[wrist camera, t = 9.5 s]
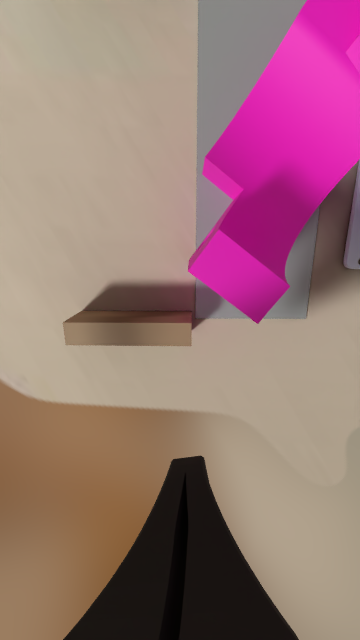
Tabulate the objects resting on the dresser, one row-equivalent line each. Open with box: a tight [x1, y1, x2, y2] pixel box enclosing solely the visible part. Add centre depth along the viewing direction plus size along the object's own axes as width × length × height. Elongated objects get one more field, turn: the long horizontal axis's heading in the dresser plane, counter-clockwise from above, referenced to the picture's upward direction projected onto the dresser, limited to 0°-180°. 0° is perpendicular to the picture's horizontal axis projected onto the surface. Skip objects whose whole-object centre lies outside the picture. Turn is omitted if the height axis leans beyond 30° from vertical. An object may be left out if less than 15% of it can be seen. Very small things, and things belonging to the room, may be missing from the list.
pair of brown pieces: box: [63, 311, 192, 346], centre depth 16 cm, size 8×21×3 cm, turn 0°
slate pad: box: [195, 0, 320, 319], centre depth 17 cm, size 8×19×1 cm, turn 0°
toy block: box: [188, 0, 360, 324], centre depth 13 cm, size 15×6×8 cm, turn 143°
